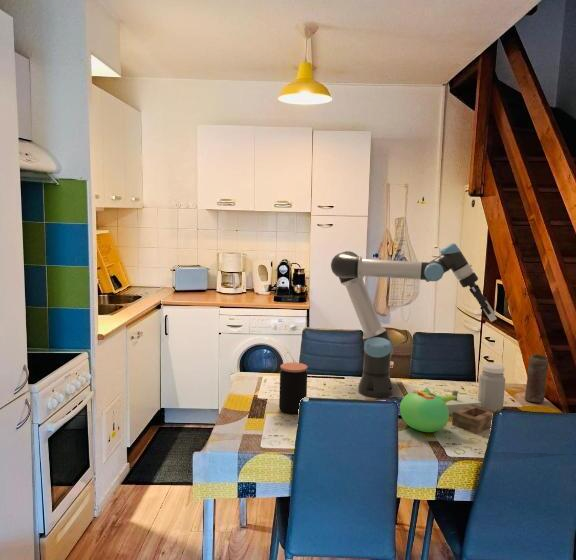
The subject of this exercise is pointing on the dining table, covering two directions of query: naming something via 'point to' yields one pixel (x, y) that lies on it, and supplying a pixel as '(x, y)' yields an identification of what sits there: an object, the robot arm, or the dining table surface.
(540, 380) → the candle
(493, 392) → the jar
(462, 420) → the brown hollow cube
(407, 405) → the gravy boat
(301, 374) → the coffee jar
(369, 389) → the robot arm
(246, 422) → the dining table surface
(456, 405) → the panel
